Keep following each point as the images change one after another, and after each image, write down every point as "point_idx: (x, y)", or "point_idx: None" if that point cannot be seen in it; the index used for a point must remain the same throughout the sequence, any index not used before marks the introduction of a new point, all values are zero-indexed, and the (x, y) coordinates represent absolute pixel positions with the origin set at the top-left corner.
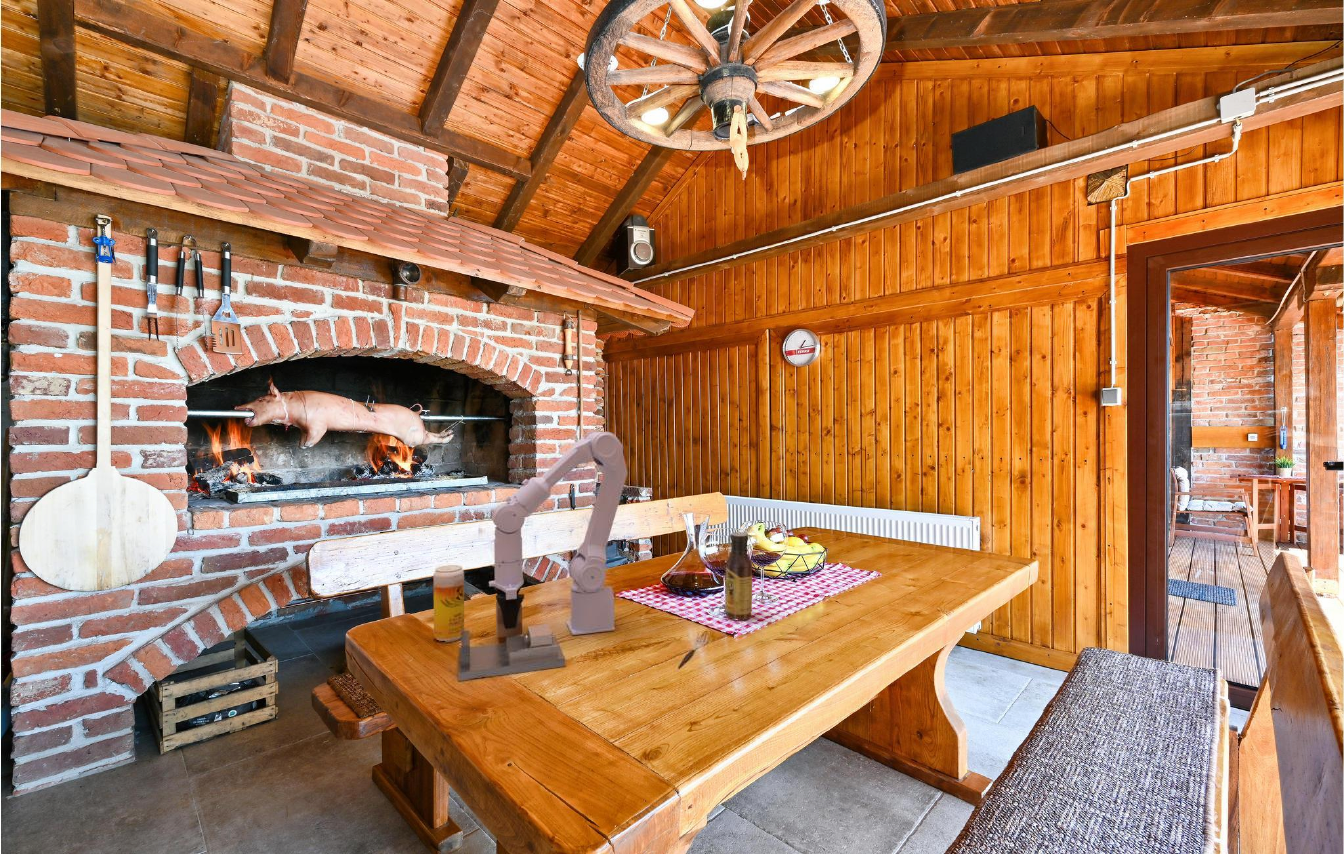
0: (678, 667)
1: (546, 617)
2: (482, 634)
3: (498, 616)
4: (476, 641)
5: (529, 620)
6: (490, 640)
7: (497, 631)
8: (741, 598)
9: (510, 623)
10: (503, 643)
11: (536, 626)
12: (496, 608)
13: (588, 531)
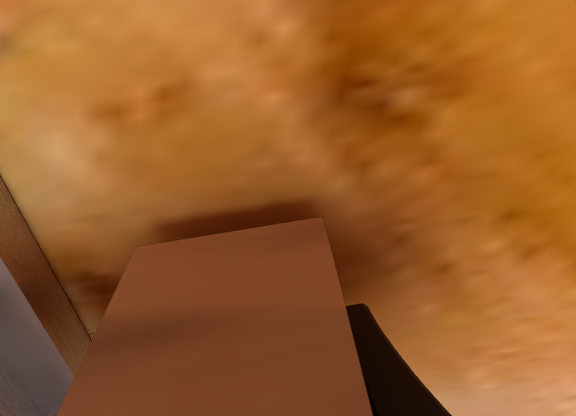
0: None
1: (552, 398)
2: (384, 79)
3: (77, 394)
4: (228, 53)
5: (547, 334)
6: (237, 159)
7: (137, 269)
8: None
9: None
10: (14, 295)
11: None
12: (255, 391)
13: None
